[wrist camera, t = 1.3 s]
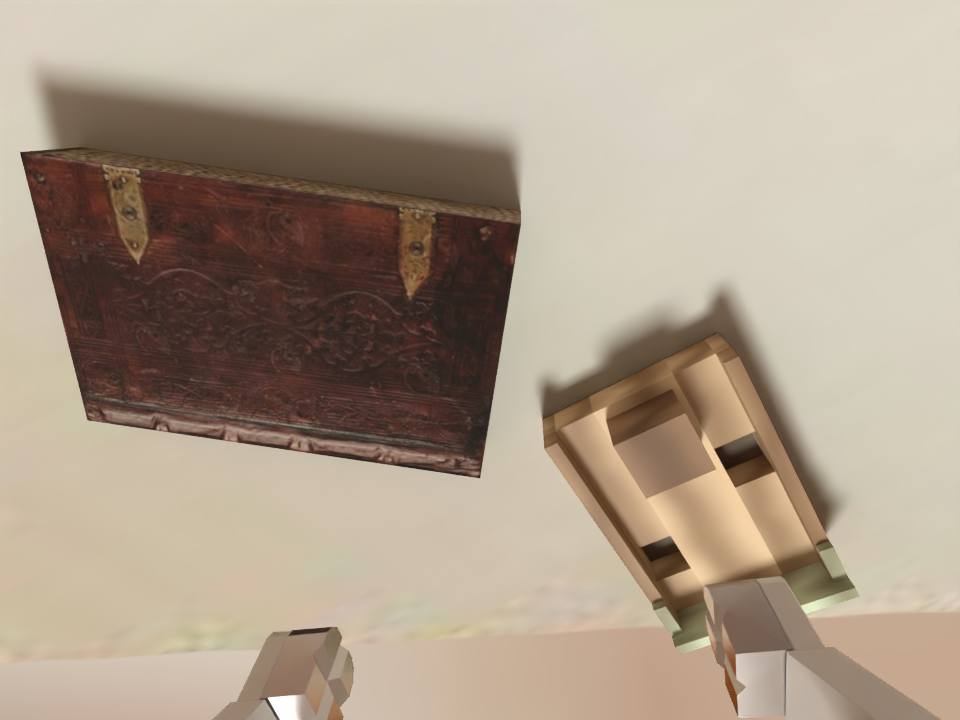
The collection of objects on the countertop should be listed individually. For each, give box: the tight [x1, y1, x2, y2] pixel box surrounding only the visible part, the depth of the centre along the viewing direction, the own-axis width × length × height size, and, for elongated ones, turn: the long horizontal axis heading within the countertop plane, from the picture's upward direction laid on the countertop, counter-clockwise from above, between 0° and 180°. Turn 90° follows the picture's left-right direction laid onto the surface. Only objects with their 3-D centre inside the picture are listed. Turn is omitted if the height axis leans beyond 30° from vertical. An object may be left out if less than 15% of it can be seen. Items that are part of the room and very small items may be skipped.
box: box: [542, 333, 859, 654], centre depth 40 cm, size 14×22×5 cm, turn 33°
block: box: [606, 389, 716, 499], centre depth 36 cm, size 5×5×3 cm
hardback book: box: [20, 148, 521, 478], centre depth 37 cm, size 29×19×5 cm, turn 83°
